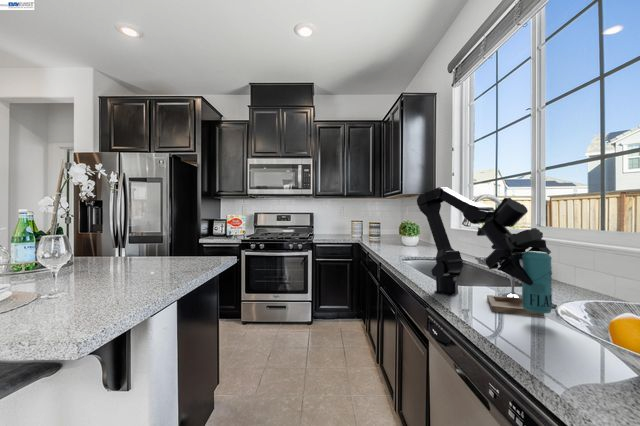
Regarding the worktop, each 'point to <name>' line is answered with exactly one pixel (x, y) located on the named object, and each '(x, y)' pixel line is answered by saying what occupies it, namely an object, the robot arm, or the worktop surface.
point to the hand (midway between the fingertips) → (540, 283)
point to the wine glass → (512, 293)
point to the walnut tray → (509, 305)
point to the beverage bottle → (537, 279)
